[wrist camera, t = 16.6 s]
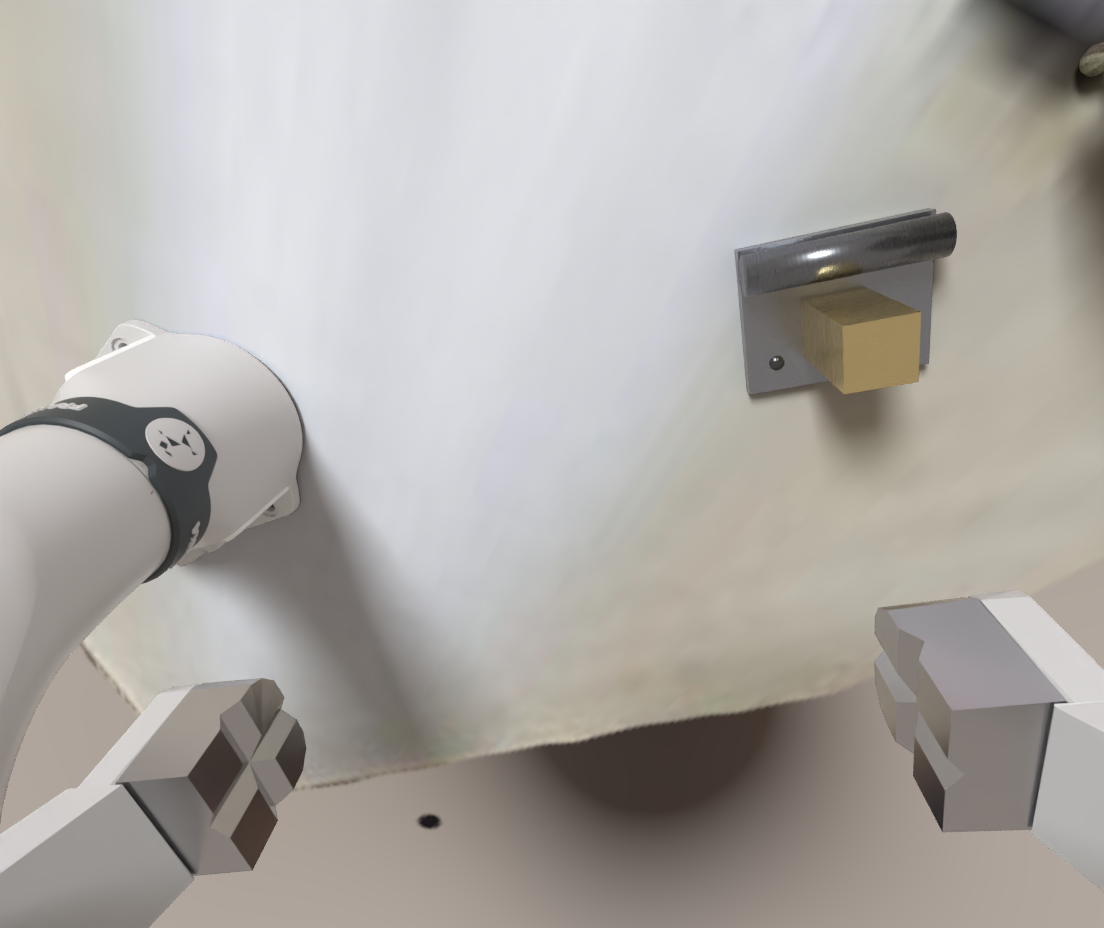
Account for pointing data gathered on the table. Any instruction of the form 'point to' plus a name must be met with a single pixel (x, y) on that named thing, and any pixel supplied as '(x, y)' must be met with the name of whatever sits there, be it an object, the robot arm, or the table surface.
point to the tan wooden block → (861, 339)
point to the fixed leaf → (832, 286)
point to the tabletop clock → (1093, 60)
